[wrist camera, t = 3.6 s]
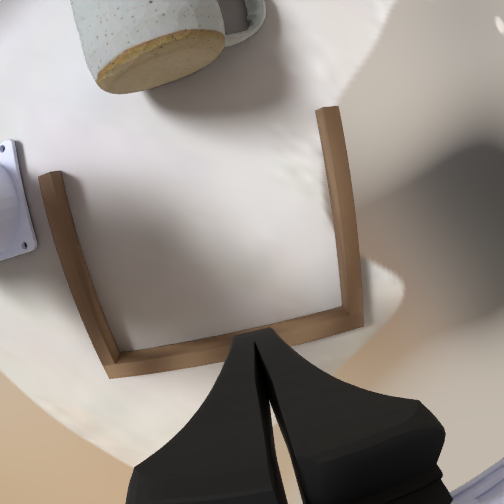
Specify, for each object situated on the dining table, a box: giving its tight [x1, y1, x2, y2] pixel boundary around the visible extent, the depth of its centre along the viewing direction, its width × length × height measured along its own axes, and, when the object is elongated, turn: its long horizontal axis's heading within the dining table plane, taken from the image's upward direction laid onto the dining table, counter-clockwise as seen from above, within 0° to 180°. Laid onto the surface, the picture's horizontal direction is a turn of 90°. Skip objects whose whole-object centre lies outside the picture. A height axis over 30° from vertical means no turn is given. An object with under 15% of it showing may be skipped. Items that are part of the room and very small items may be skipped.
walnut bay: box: [38, 106, 364, 379], centre depth 20 cm, size 19×15×2 cm
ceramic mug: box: [70, 0, 266, 94], centre depth 13 cm, size 11×8×8 cm
